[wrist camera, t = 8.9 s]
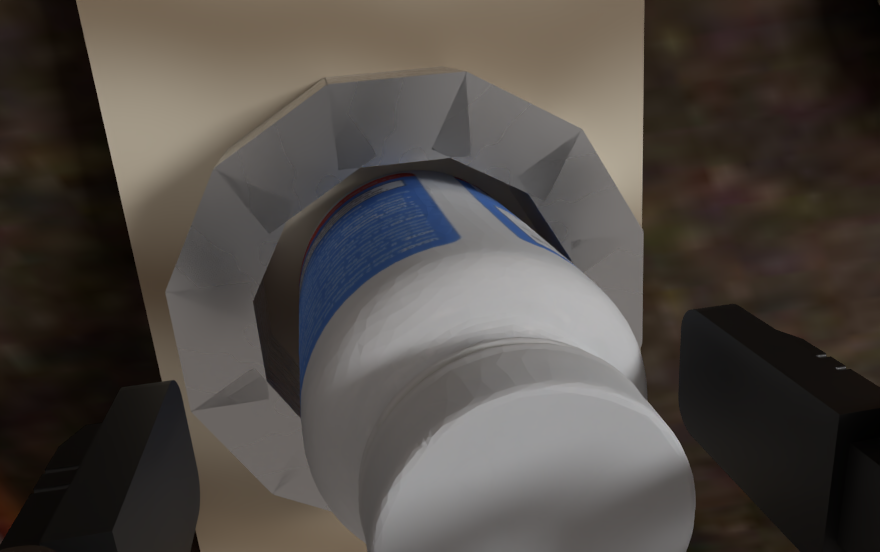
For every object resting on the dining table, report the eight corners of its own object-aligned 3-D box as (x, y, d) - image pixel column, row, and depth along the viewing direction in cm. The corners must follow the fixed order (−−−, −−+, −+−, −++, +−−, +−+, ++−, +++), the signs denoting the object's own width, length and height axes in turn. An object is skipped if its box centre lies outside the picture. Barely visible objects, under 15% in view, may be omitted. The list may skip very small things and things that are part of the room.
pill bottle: (295, 379, 18) (281, 738, 9) (303, 158, 16) (297, 317, 7) (511, 380, 19) (700, 704, 10) (538, 174, 17) (796, 328, 8)
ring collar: (152, 92, 15) (124, 102, 13) (597, 51, 17) (645, 54, 14) (232, 488, 18) (221, 554, 16) (601, 428, 20) (640, 481, 17)
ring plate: (83, -56, 16) (60, -66, 14) (617, -91, 17) (645, -102, 16) (217, 557, 21) (210, 595, 19) (617, 486, 22) (638, 517, 21)
